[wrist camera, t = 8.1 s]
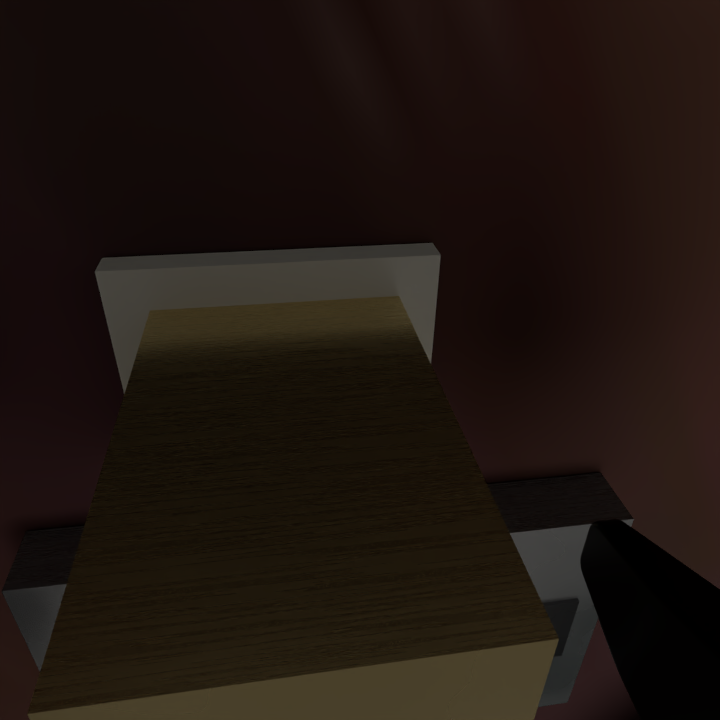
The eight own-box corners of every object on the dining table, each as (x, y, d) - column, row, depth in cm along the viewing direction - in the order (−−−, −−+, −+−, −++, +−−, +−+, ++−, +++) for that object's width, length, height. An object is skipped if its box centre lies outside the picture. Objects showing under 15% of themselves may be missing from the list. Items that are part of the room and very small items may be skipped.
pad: (158, 502, 14) (155, 522, 13) (101, 258, 11) (94, 271, 10) (413, 477, 15) (419, 494, 14) (432, 243, 11) (440, 254, 11)
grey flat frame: (101, 717, 18) (89, 780, 17) (25, 531, 14) (0, 595, 12) (546, 653, 20) (568, 705, 18) (601, 472, 16) (635, 522, 14)
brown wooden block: (186, 495, 13) (133, 912, 7) (149, 310, 11) (27, 714, 5) (389, 474, 14) (494, 846, 8) (399, 295, 11) (559, 639, 5)
